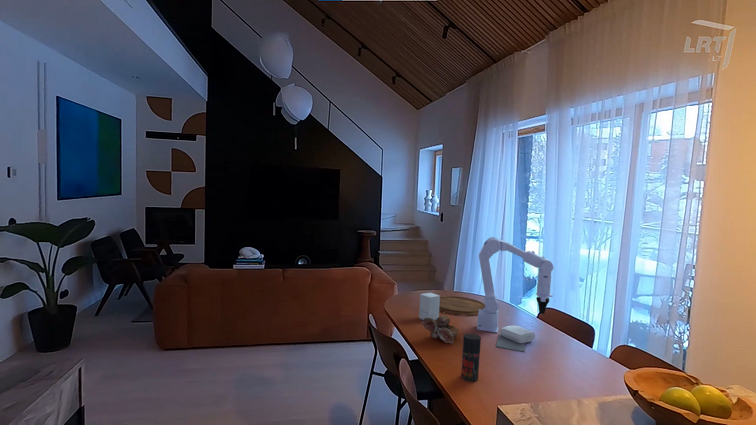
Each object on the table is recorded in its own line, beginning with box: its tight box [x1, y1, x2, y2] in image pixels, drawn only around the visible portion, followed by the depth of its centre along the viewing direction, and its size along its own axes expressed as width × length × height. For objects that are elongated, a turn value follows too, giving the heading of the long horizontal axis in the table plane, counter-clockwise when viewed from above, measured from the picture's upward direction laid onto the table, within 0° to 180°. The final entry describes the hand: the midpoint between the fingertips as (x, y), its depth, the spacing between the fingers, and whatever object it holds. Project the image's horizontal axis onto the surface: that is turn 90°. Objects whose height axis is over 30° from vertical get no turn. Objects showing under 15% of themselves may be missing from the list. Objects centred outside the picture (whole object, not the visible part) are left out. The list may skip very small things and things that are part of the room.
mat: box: [495, 333, 526, 353], centre depth 182 cm, size 12×17×1 cm
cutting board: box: [439, 295, 485, 317], centre depth 233 cm, size 32×32×2 cm
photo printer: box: [500, 325, 536, 344], centre depth 187 cm, size 10×4×12 cm
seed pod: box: [420, 314, 459, 345], centre depth 182 cm, size 13×16×15 cm
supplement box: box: [418, 292, 441, 321], centre depth 209 cm, size 7×7×13 cm
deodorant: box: [460, 333, 482, 383], centre depth 145 cm, size 6×6×15 cm
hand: (541, 313), depth 193 cm, fingers closed
